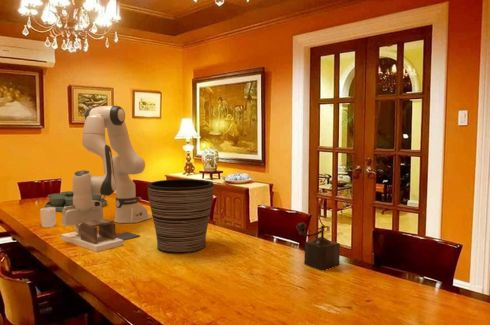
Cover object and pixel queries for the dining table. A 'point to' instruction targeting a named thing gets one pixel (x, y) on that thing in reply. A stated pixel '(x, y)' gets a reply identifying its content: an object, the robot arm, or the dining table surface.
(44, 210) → the white cup
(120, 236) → the mat
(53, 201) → the tea set
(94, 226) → the cover
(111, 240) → the puzzle board
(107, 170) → the robot arm
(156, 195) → the planter pot
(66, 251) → the dining table surface
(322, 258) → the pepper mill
